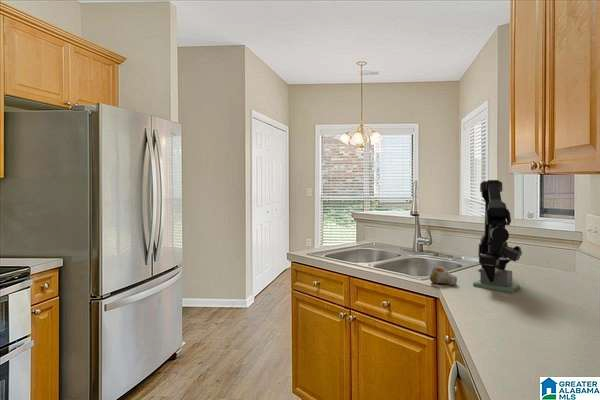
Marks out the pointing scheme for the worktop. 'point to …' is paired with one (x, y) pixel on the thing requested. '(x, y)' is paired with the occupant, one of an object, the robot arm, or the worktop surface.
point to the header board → (497, 286)
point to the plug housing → (497, 277)
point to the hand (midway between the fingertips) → (496, 279)
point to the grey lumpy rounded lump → (442, 276)
